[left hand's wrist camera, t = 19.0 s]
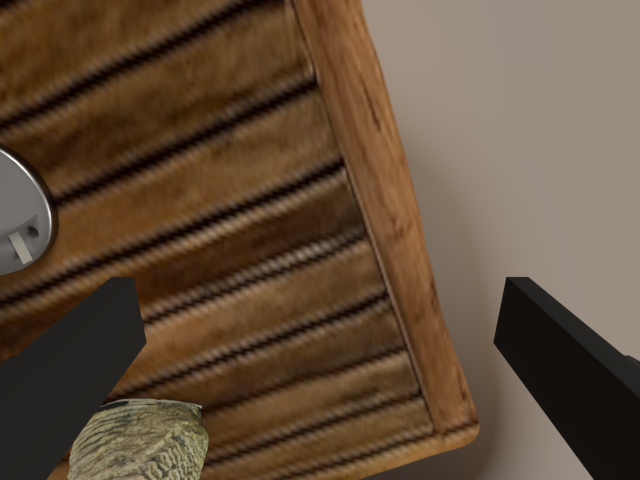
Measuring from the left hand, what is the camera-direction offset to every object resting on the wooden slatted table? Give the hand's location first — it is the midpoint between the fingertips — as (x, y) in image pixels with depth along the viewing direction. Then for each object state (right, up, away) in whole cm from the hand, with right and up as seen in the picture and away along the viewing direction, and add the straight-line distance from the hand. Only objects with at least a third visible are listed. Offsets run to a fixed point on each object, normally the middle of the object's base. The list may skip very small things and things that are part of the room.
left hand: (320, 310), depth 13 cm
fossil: (-23, -22, +38) cm, 50 cm away
